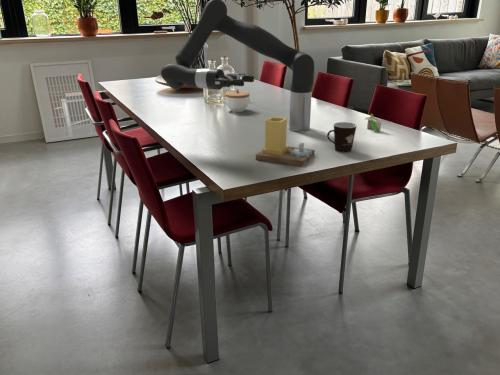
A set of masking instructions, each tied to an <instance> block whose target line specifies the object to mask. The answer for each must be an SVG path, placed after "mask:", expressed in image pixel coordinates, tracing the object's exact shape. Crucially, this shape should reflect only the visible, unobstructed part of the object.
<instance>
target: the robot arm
mask: <svg viewBox="0 0 500 375" xmlns="http://www.w3.org/2000/svg"><path fill="white" fill-rule="evenodd" d="M214 31H217V32H219V33H222V34H225V35H227V36H229V37H231V38H232V39H234V40H235V41H237V42H239V43H241V44H243V45H245V46H247V47H248V48H250V49H251V50H253V51H255V52H256V53H259V54H261V55H263V56H264V57H268V58H271V59H273V60H276V61H278V62H280V63H282V64H283V65H284V66H286V67H288V69H290V70H291V71H292V80H291V83H290V96H289V98H290V100H289V103H290V104H289V127H288V128H289V131H292V132H296V133H299V132H301V133H302V132H308V131H310V128H311V112H312V91H313V86H314V81H315V80H314V79H315V60H314V58H313V57H312V56H311V55H309V54H307V53H305V52H303V51H300V50H297V49H295V48H294V47H291V46H289V45H287V44H286V43H284V42H283V41H281V40H280V39H279V38H278V37H277V36H276V35H274V34H272V33H271V32H270V31H267V30H266V29H264V28H263V27H261V26H258V25H256V24H252V23H248V22H244V21H241V20H238V19H234V18H233V17H231V16H230V15H228V7H227V5H226V3H225V2H224V1H223V0H209V1H207V3H205V6H204V7H203V9H202V12H201V17H200V20H199V21H198V23H197V24H196V26H195V27H194V29H193V30H192V32H191V33H190V34H189V36H188V37H187V39H186V40H185V41H184V43H183V44H182V46H181V47H180V49H179V50H178V51H177V54H176V55H175V62H176V63H169V64H166V65H164V66H163V67H162V68H161V70H160V76H161V77H162V79H163V81H164V82H165V83H166V84H167V85H168V86H169V87H170V88H171V89H173V90H179V89H181V88H182V87H183V86H184V85H185V86H187V87H190V88H199V89H203V90H204V89H205V90H206V89H207V90H217V91H218V90H223V88H230V87H232V88H233V87H244V86H245V82H246V83H254V82H255V76H254V75H246V74H245V73H226V74H225V72H224V70H223V69H221V68H206V67H205V68H192V65H193V64H194V62H195V61H196V60H197V58H198V57H199V55H200V53H201V51H202V49H203V47H204V46H205V44H206V42H207V40H208V39H209V38H210V36H211V35H212V33H213V32H214Z"/></svg>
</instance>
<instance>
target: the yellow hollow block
mask: <svg viewBox="0 0 500 375" xmlns="http://www.w3.org/2000/svg"><path fill="white" fill-rule="evenodd" d="M287 121H288V119H287V118H285V117H274V116H271V117H270V118H268V119H265V121H264V122H265V124H264V125H265V128H264V131H265V132H264V133H265V134H264V135H265V137H264V139H265V141H264V147H263V148H262V150H261V151H262V152H263V153H270V154H276V155H282V154H283V153H285V152H286V151H287V150H288V149H289V147H290V146H289V145H287V126H288V124H287V123H288V122H287Z"/></svg>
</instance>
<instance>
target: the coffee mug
mask: <svg viewBox="0 0 500 375" xmlns="http://www.w3.org/2000/svg"><path fill="white" fill-rule="evenodd" d="M356 131H357V124H356V123H354V122H353V123H352V122H348V121H347V122H346V121H340V122H334V123H333V129H330V130H329V131H328V132H327V135H326V137H327V140H329V142H331V143H332V144H334V151H336V152H338V153H350V152H352V149H353V144H354V141H355V140H354V139H355V135H356ZM331 133H333V137H334V140H332V139H331V138H330V134H331Z"/></svg>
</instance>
